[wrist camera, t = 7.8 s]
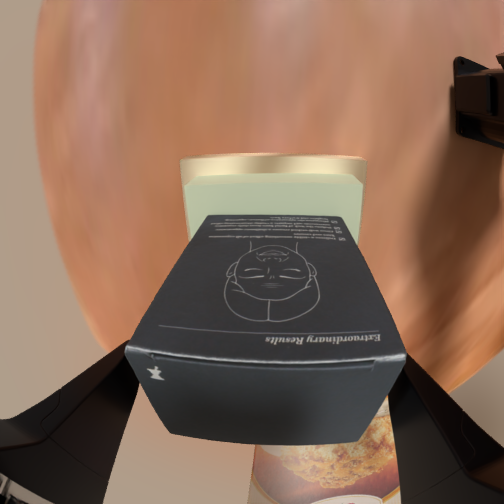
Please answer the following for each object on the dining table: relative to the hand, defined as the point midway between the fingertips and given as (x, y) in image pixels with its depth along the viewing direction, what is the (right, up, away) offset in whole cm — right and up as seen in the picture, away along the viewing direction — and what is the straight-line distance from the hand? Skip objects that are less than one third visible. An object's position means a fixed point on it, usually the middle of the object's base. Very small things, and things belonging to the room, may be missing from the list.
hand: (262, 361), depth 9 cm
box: (+1, +3, +8) cm, 9 cm away
